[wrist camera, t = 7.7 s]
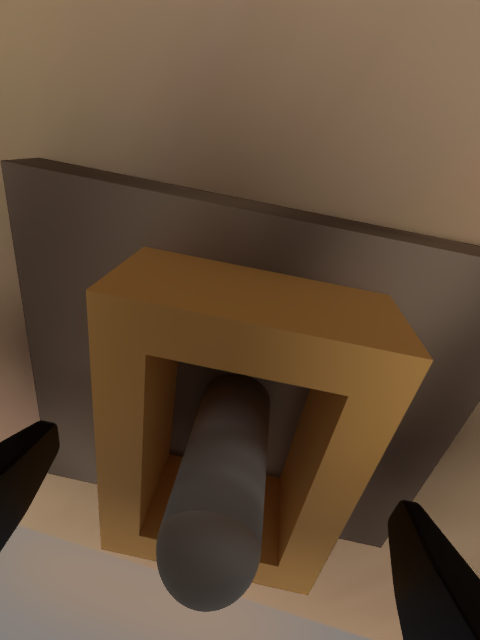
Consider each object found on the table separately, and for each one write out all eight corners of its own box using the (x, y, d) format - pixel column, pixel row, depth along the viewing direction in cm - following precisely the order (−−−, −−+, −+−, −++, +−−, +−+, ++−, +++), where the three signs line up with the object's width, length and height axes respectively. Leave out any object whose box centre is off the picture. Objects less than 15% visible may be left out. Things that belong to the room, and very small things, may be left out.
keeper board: (525, 255, 9) (988, 478, 3) (372, 512, 15) (432, 771, 9) (38, 157, 10) (-395, 188, 4) (68, 445, 16) (-78, 649, 9)
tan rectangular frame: (389, 295, 9) (433, 360, 6) (303, 504, 13) (307, 595, 11) (143, 246, 9) (85, 289, 6) (137, 468, 13) (101, 549, 11)
